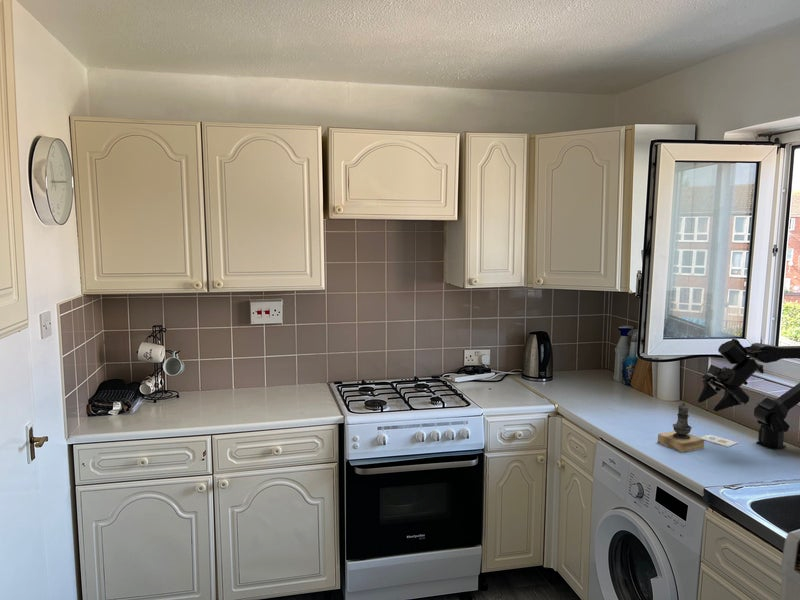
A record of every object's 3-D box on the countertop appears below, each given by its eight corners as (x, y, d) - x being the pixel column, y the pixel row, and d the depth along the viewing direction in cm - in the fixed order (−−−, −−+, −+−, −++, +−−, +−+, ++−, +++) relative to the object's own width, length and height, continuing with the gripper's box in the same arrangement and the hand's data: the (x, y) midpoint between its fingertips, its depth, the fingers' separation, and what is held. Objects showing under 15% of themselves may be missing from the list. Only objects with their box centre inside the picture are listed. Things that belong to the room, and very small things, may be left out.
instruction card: (738, 443, 198) (738, 442, 198) (727, 447, 194) (727, 446, 194) (708, 434, 206) (708, 433, 206) (698, 438, 202) (698, 437, 202)
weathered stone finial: (670, 432, 199) (673, 398, 198) (689, 434, 197) (692, 400, 196) (673, 438, 193) (675, 403, 192) (692, 440, 192) (695, 405, 190)
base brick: (703, 448, 193) (704, 439, 193) (682, 452, 189) (683, 443, 189) (678, 438, 202) (678, 430, 202) (657, 442, 198) (658, 433, 198)
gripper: (708, 351, 202) (676, 382, 203) (742, 363, 184) (706, 398, 184) (728, 372, 203) (696, 403, 204) (764, 387, 185) (729, 421, 186)
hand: (706, 406), depth 195 cm, fingers open, 9 cm apart
